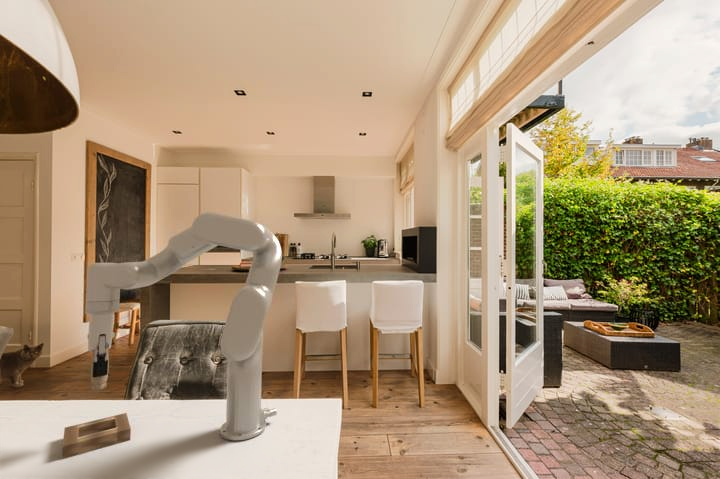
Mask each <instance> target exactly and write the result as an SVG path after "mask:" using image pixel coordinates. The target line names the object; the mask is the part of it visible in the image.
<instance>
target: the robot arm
mask: <svg viewBox="0 0 720 479" xmlns="http://www.w3.org/2000/svg"><path fill="white" fill-rule="evenodd" d="M191 225H192V226H189V227H188V228H186V229H185V230H182V231H180V232H179V233H177V234H175V235H173V236H171V237H170V238H169V239H168V241H167V246H165V248H164V249H163V250H162V251H160V252H158V253H156V254H155V255H153V256H151V257H149V258H147V259H146V260H143V261H133V262H132V261H129V262H128V261H127V262H120V263H119V262H118V263H117V262H93V263H90V264H89V265H88V267H87V270H86V271H87V272H86V274H87V275H86V290H85V291H86V292H85V293H86V294H85V296H86V297H85V312H84V313H85V315H89V320H88V322H89V324H88V334H89V338H88V337H87V340H88V341H87V351H88V352H90V353H91V352H93V350H95V362H93V377H100V376H105V375H107V374H108V375H109V368H108V360H109V359H108V360H107V355H108V356H109V350H110V349H111V347H112V343H113V342H112V341H113V339H112V335H113V332H114V320H115V319H114V318H115V317H114V316H115V313H119V311H120V300H121V299H120V298H121V294H120V293H121V290H134V289H138V288H146V287H149V286H151V285H154V284H155V283H156V284H157V282H160V281H161V280H162V279H165V278H166V277H168V276H170V275H172V274H173V273H175V272H177V271H178V270H180V269H181V268H183V267H184V266H186V265H187V264H188V263H190V262H191V261H193V260H195V259H196V258H198V257H200V256H202V255H204V254H205V253H207V252H208V251H211V250H212V249H215V248H217V247H218V246H219V247H226V248H231V249H234V250H241V251H245V252H250V253H251V252H252V254H253V259H252V261H251V264H250V268H249V270H248V275H247V278H246V281H245V284H244V286H243V288H241V289H239V290H238V292H237V293H236V294H235V296H234V297H233V300H232V302H231V305H230V308H229V311H228V314H227V317H226V320H225V324H224V327H223V330H222V334H221V338H220V344H219V346H220V351H221V353H222V355H223V356H224V357H225V359H227V373H226V375H227V377H226V378H227V380H226V411H225V412H226V415H225V416H226V419H225V422H224V423H223V424H222V425H221V426H220V427H219V429H220V430H219V434H220V436H221V438H223V439H225V440H229V441H244V440H248V439H252V438H254V437H257V436H258V435H261V434H262V433H263V432H264V431H265V429H266V427H267V421H266V420H267V418H271V417H274V416H277V412H278V411H277V409H276V408H275V407H274V408H271V409H270V407H265V408H262V375H263V374H262V373H263V370H262V369H263V351H264V350H263V347H264V331H263V330H264V329H263V326H264V323H265V319H266V316H267V312H268V311H269V310H270V308H271V306H272V302H273V297H274V293H275V289H276V285H277V281H278V279H279V274H280V270H281V268H282V267H281V266H282V260H283V252H282V246H281V243H280V241H279V238H277V236H275V234H274V233H273V232H272V231H271V230H270V229H269V228H268V227H266V226H265V225H264V224H261V223H259V222H257V221H254V220H250V219H246V218H245V219H243V218H240V217H237V216H229V215H226V214H222V213H218V212H214V211H207V212H202V213H200V214H198V215H197V216H196V217H195V219H194V220H193V222H192V224H191ZM105 334H106V335H105ZM105 347H106V349H105ZM97 348H99V350H97ZM97 352H99V353H98V354H97Z"/></svg>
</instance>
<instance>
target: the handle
mask: <svg viewBox="0 0 720 479" xmlns="http://www.w3.org/2000/svg"><path fill="white" fill-rule="evenodd" d="M115 334H116V333H115V332H114V331H113V335H112V340H113V339H114V338H115V336H116V335H115ZM105 335H106V334H105ZM88 338H89V333H88V334H87V339H88ZM105 349H106V347H105ZM97 350H99V348H97ZM98 353H99V352H97V354H98ZM107 360H108V369H109V362H110V361H109V354H108V355H107ZM93 362H95V350H92V355H91V363H90V382H91V383H90V384H91V390H92V391H101V390H103V389H106V388H107V385H108V384H107V381H108V377H109V373H108V374H107V375H105V376H100V377H93Z"/></svg>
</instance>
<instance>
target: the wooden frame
mask: <svg viewBox="0 0 720 479" xmlns="http://www.w3.org/2000/svg"><path fill="white" fill-rule="evenodd" d="M63 432H64V433H63V441H62V448H61V449H62V450H61V452H62V453H61V459H62V460H65V459H68V458H72V457H75V456H78V455H82V454H85V453H89V452H93V451H96V450H99V449H103V448H107V447H110V446H113V445H117V444H120V443H124V442H128V441H130V440H131V434H132V433H131V432H132V431H131V425H130V421H129V418H128V414H127V412H123V413H121V414H120V413H119V414H117V415H112V416H107V417H104V418H100V419H99V418H98V419H96V420H95V419H94V420H91V421H87V422H83V423H78V424H74V425H69V426H66V427H64V430H63Z"/></svg>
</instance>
